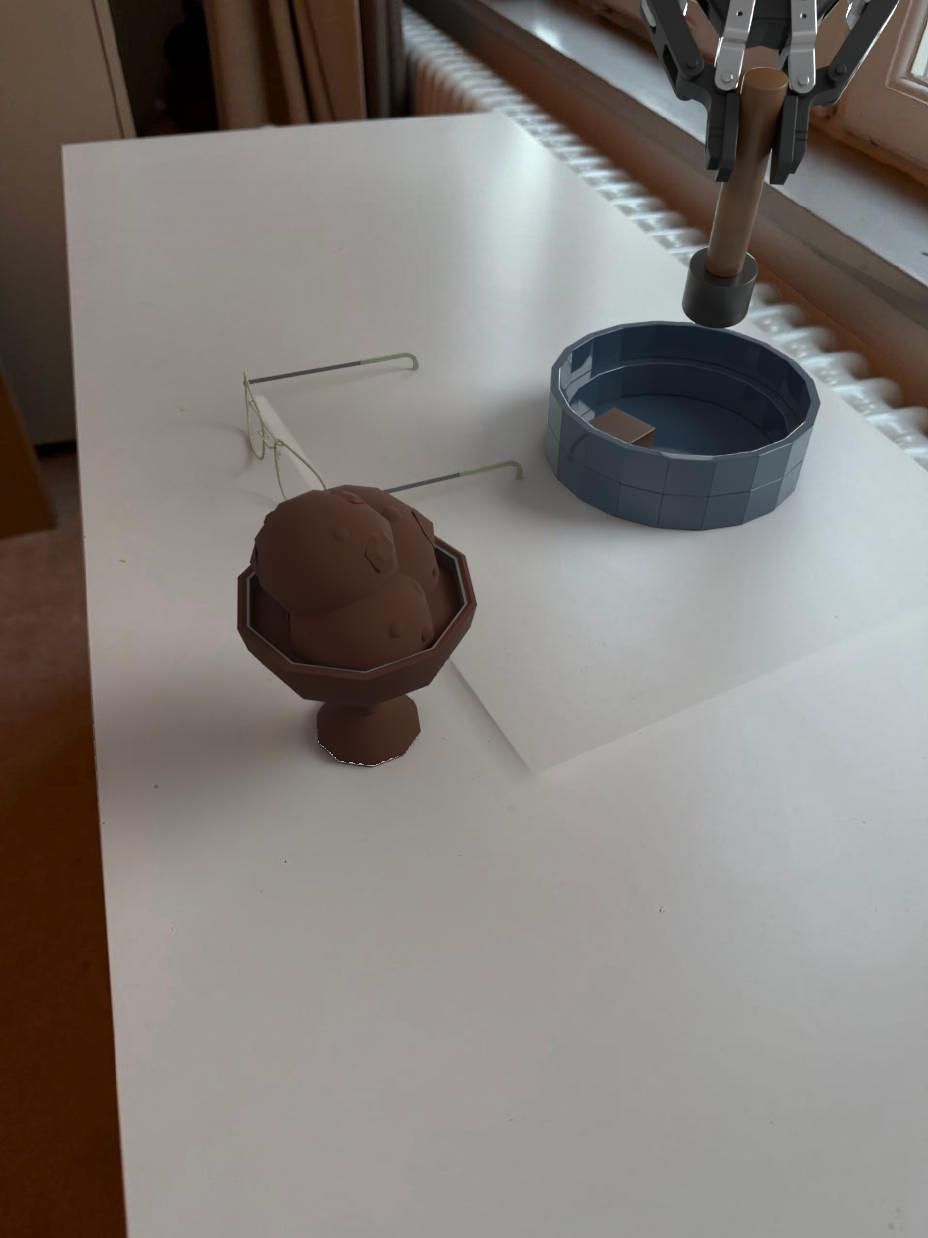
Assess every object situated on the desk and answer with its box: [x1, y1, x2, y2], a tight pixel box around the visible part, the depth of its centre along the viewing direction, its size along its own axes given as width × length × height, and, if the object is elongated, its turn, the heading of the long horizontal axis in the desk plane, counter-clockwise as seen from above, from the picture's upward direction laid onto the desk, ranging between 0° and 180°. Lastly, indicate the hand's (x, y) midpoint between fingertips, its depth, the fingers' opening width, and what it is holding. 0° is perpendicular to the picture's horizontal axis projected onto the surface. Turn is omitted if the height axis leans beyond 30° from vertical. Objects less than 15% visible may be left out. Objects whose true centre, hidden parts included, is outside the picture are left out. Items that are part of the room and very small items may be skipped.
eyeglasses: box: [242, 351, 524, 501], centre depth 68 cm, size 16×15×5 cm
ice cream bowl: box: [236, 483, 478, 765], centre depth 47 cm, size 11×11×15 cm
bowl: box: [544, 320, 822, 531], centre depth 67 cm, size 17×17×6 cm
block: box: [588, 407, 655, 449], centre depth 65 cm, size 4×4×4 cm
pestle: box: [681, 66, 788, 329], centre depth 55 cm, size 4×4×14 cm
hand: (752, 175), depth 51 cm, fingers closed on pestle, 2 cm apart
